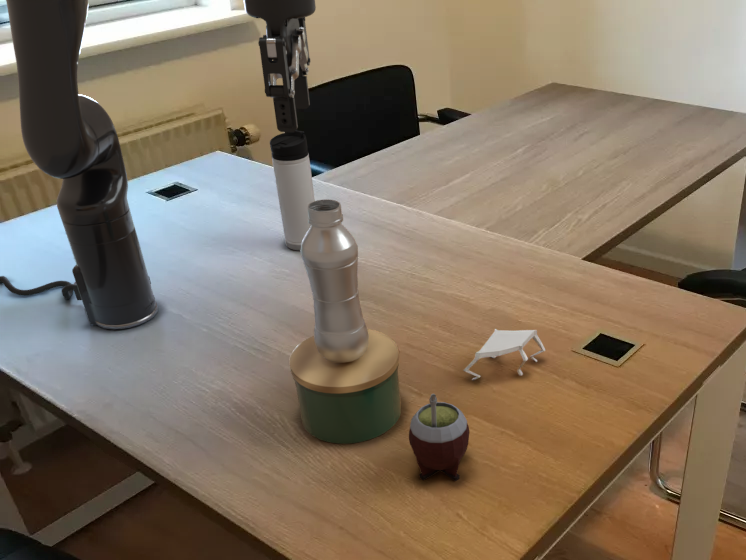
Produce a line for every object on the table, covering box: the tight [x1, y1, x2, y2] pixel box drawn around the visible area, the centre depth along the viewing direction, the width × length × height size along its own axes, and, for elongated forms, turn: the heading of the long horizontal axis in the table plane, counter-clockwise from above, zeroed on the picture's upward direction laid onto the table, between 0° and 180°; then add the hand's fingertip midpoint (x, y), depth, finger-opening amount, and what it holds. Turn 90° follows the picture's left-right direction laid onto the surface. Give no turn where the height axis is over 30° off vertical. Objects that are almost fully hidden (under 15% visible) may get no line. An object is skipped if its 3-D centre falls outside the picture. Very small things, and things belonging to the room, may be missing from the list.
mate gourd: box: [408, 393, 470, 482], centre depth 93 cm, size 8×8×15 cm
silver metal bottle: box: [299, 198, 369, 363], centre depth 96 cm, size 6×7×20 cm
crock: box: [288, 328, 402, 445], centre depth 104 cm, size 14×14×9 cm
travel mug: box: [269, 129, 316, 251], centre depth 143 cm, size 6×7×20 cm
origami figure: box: [462, 328, 546, 381], centre depth 113 cm, size 12×8×5 cm
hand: (294, 119), depth 95 cm, fingers open, 8 cm apart
